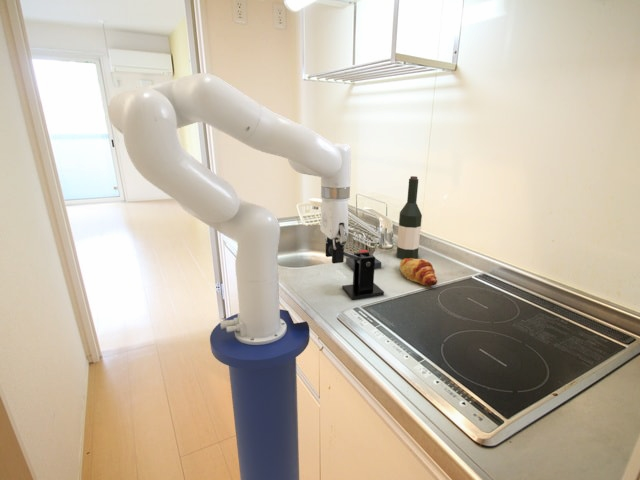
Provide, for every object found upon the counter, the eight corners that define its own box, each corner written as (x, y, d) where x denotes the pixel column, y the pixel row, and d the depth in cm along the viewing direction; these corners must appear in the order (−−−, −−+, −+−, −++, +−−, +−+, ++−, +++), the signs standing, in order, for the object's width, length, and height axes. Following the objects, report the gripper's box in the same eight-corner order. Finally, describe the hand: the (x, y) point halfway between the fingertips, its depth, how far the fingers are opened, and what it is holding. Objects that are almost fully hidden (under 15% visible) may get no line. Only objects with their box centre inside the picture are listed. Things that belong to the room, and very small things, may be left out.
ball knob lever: (329, 254, 97) (333, 244, 96) (325, 251, 100) (330, 240, 99) (368, 269, 103) (372, 259, 103) (363, 265, 106) (368, 255, 105)
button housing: (354, 271, 122) (354, 260, 121) (346, 263, 129) (346, 253, 128) (381, 268, 126) (381, 257, 125) (371, 260, 133) (371, 250, 132)
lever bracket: (352, 300, 102) (353, 261, 98) (342, 289, 109) (343, 252, 105) (383, 295, 105) (386, 257, 101) (372, 285, 112) (374, 248, 108)
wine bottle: (420, 255, 140) (428, 176, 130) (414, 261, 133) (422, 178, 123) (399, 251, 143) (405, 174, 133) (393, 258, 136) (399, 177, 126)
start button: (361, 258, 124) (361, 253, 124) (356, 255, 127) (357, 250, 127) (370, 257, 125) (370, 252, 125) (366, 254, 129) (366, 249, 128)
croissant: (394, 275, 129) (385, 258, 125) (417, 261, 130) (409, 242, 126) (426, 300, 110) (417, 280, 106) (452, 282, 111) (445, 262, 108)
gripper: (312, 188, 99) (312, 251, 106) (332, 199, 85) (331, 271, 91) (337, 187, 102) (336, 248, 109) (361, 198, 88) (358, 268, 94)
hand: (334, 258), depth 100 cm, fingers open, 4 cm apart
